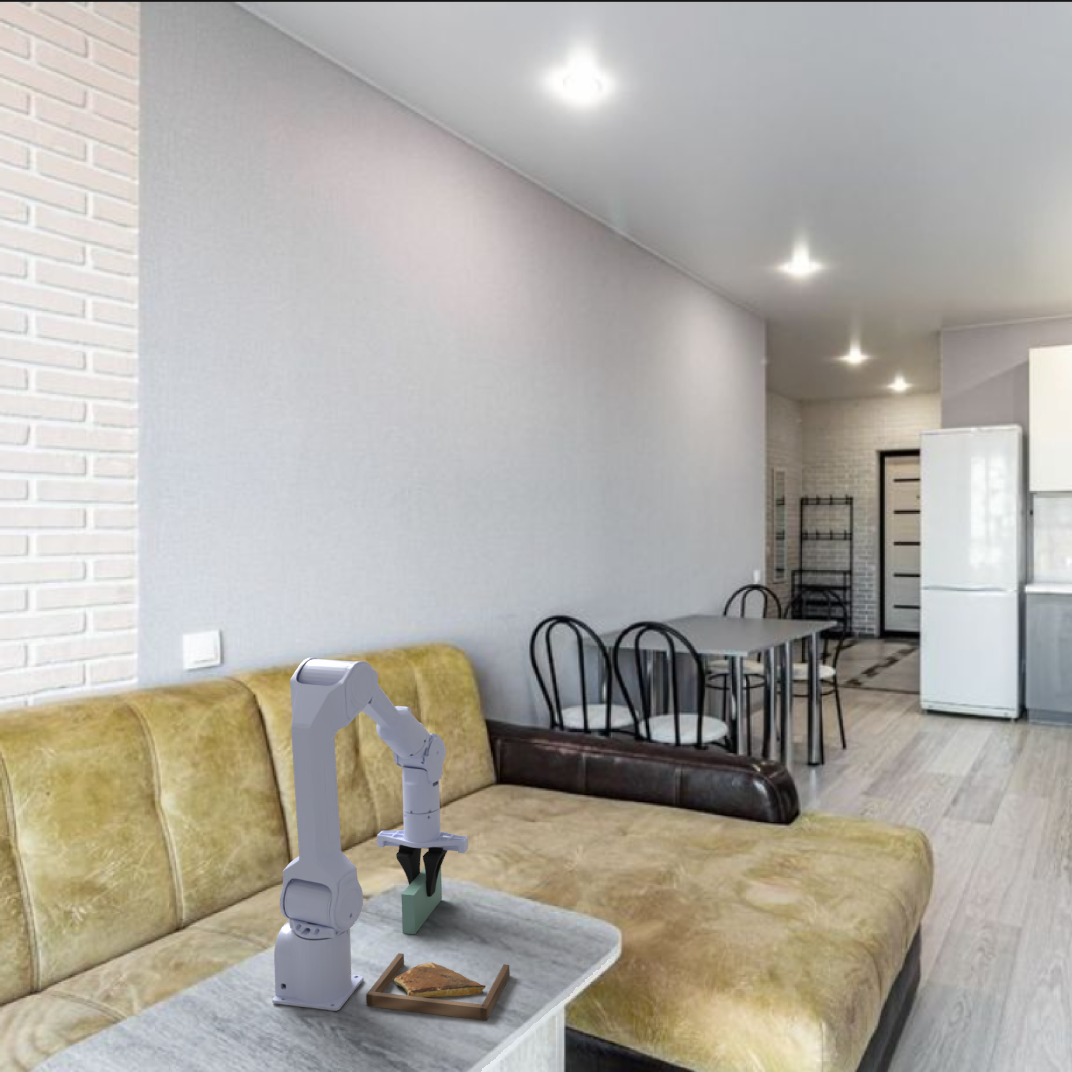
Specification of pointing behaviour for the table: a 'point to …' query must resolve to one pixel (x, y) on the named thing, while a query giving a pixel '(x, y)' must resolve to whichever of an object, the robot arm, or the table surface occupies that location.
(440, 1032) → the table surface
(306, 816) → the robot arm
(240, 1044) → the table surface
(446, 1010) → the walnut frame
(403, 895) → the bar
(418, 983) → the shard
